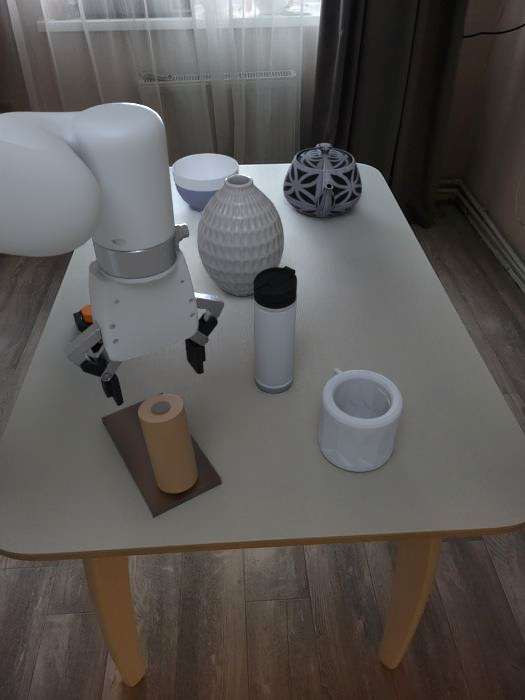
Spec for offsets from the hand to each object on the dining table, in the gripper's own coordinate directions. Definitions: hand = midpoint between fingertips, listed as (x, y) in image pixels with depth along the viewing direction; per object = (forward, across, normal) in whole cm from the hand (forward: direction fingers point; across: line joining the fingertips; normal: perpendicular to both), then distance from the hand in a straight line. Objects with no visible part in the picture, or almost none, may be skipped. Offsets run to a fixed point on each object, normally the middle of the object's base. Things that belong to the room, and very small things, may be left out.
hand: (157, 381), depth 63 cm
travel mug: (+19, -23, -10) cm, 31 cm away
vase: (+19, -32, -36) cm, 52 cm away
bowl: (+19, -43, -72) cm, 86 cm away
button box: (+19, -5, -37) cm, 42 cm away
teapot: (+18, -66, -56) cm, 88 cm away
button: (+16, -2, -37) cm, 40 cm away
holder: (+19, -1, -6) cm, 20 cm away
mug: (+19, -26, +6) cm, 33 cm away
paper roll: (+12, -1, -3) cm, 13 cm away
